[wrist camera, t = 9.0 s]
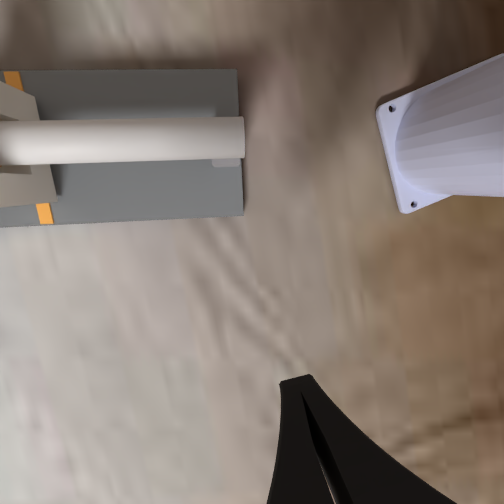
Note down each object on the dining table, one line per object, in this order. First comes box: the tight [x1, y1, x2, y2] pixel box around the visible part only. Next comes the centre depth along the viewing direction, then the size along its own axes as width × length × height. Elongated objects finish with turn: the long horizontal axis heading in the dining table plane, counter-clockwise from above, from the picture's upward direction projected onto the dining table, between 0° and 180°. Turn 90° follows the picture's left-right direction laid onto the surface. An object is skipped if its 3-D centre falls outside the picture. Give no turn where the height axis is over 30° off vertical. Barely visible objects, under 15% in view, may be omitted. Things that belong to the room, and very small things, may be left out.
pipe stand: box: [0, 69, 245, 227], centre depth 15 cm, size 20×9×6 cm, turn 92°
